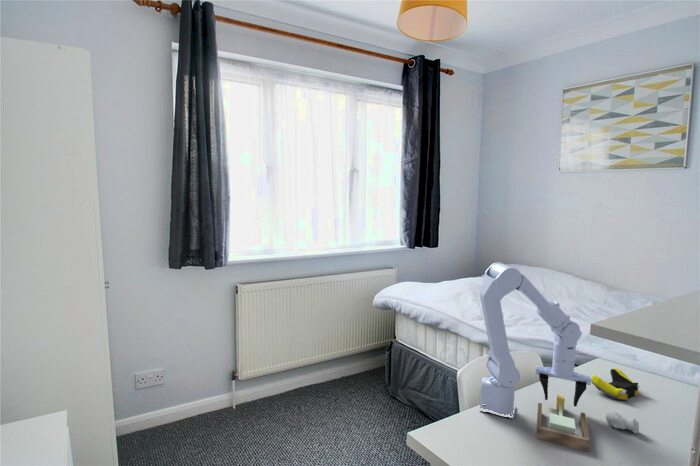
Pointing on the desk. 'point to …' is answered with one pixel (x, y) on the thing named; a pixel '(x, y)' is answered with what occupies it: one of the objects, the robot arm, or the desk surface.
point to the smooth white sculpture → (622, 422)
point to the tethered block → (561, 418)
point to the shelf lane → (564, 434)
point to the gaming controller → (617, 385)
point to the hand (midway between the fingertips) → (560, 401)
